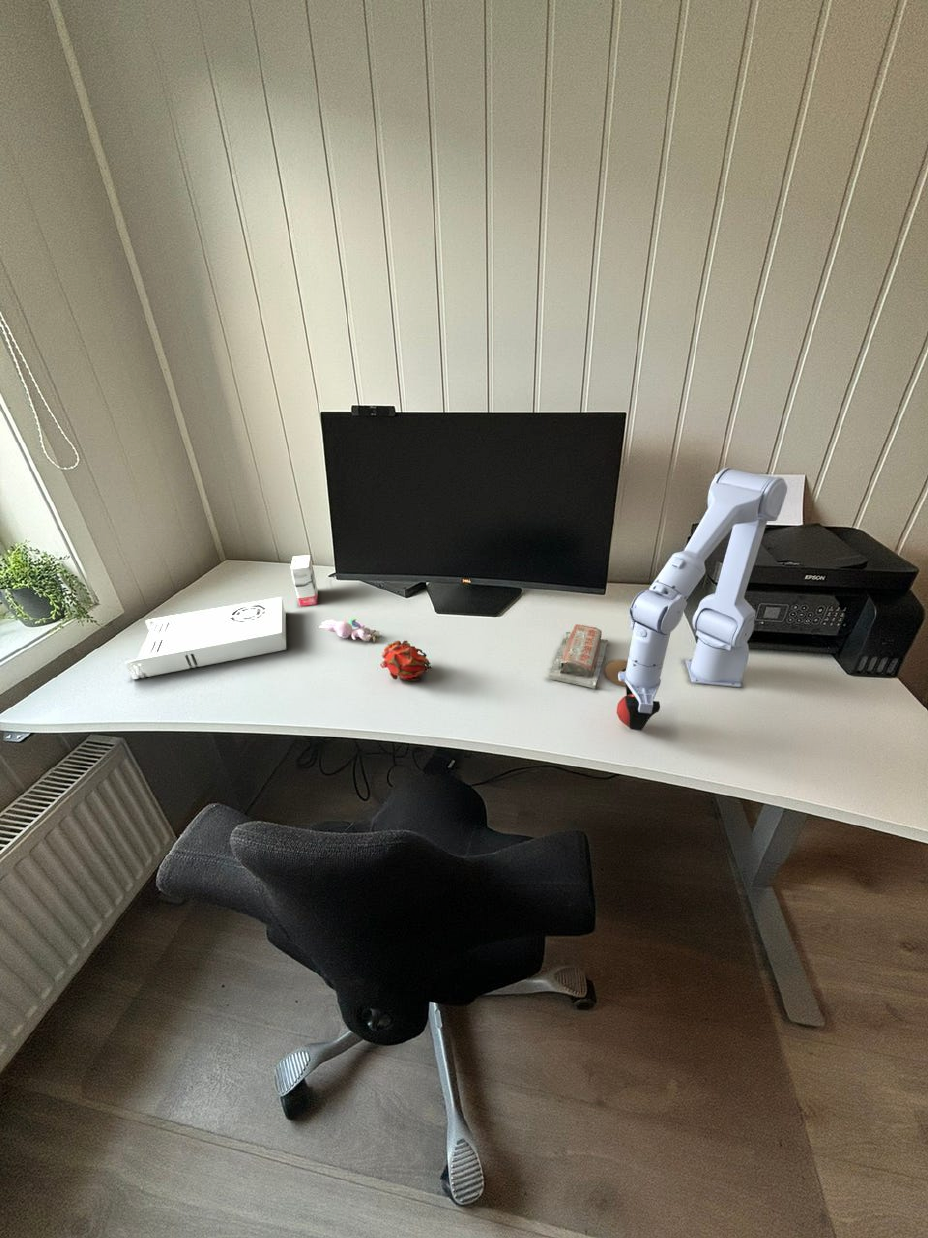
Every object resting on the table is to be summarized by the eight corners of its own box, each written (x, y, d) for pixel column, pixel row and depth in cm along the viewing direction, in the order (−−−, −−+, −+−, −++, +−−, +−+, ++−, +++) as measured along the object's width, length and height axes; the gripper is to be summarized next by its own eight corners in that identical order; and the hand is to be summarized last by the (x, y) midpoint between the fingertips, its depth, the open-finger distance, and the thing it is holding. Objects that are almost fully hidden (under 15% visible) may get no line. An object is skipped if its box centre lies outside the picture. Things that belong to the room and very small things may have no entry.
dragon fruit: (384, 670, 110) (429, 689, 107) (366, 671, 102) (415, 691, 98) (396, 635, 110) (442, 653, 106) (379, 633, 102) (429, 652, 98)
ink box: (317, 604, 135) (309, 566, 129) (299, 606, 134) (289, 568, 128) (318, 590, 142) (310, 553, 136) (301, 593, 141) (292, 556, 135)
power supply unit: (152, 636, 123) (144, 620, 120) (285, 612, 131) (281, 596, 129) (133, 680, 108) (124, 662, 105) (286, 649, 116) (281, 632, 113)
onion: (640, 715, 93) (647, 682, 89) (651, 736, 88) (659, 702, 84) (610, 716, 93) (616, 683, 89) (619, 737, 88) (626, 703, 84)
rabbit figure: (381, 637, 122) (326, 624, 123) (382, 617, 119) (325, 604, 120) (372, 651, 117) (314, 637, 118) (372, 631, 113) (313, 617, 115)
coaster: (646, 663, 107) (646, 662, 106) (650, 689, 99) (651, 688, 99) (604, 659, 108) (604, 658, 108) (605, 684, 101) (605, 683, 101)
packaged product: (567, 619, 114) (610, 627, 111) (565, 636, 117) (607, 644, 114) (549, 662, 100) (597, 671, 97) (547, 680, 103) (595, 690, 99)
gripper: (619, 631, 89) (610, 689, 96) (625, 680, 77) (614, 741, 84) (659, 635, 87) (647, 693, 94) (672, 685, 75) (656, 747, 82)
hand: (634, 716), depth 89 cm, fingers closed on onion, 6 cm apart
